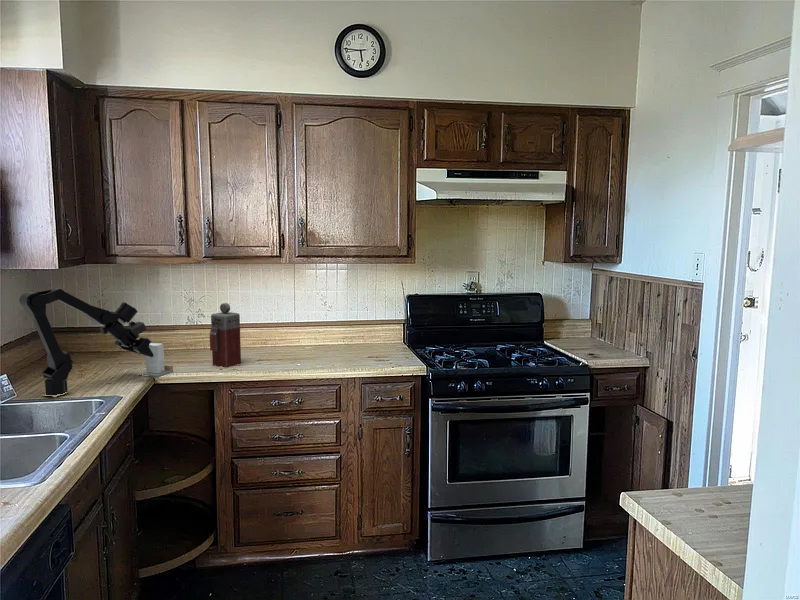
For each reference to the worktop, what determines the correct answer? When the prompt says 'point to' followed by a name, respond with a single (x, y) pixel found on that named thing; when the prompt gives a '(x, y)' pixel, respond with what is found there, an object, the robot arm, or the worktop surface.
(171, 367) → the plate
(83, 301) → the robot arm
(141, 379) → the worktop surface
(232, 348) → the red french press
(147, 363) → the skincare box
